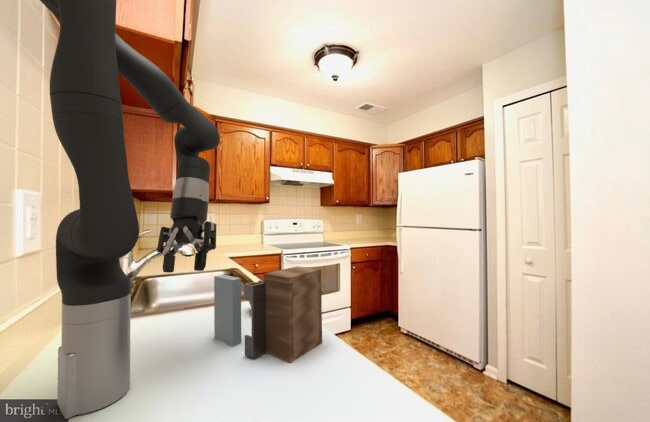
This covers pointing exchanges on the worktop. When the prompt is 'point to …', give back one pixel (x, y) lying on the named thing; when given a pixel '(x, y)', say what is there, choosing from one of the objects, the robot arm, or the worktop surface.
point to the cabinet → (293, 312)
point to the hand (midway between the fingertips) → (183, 271)
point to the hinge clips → (256, 320)
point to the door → (227, 309)
